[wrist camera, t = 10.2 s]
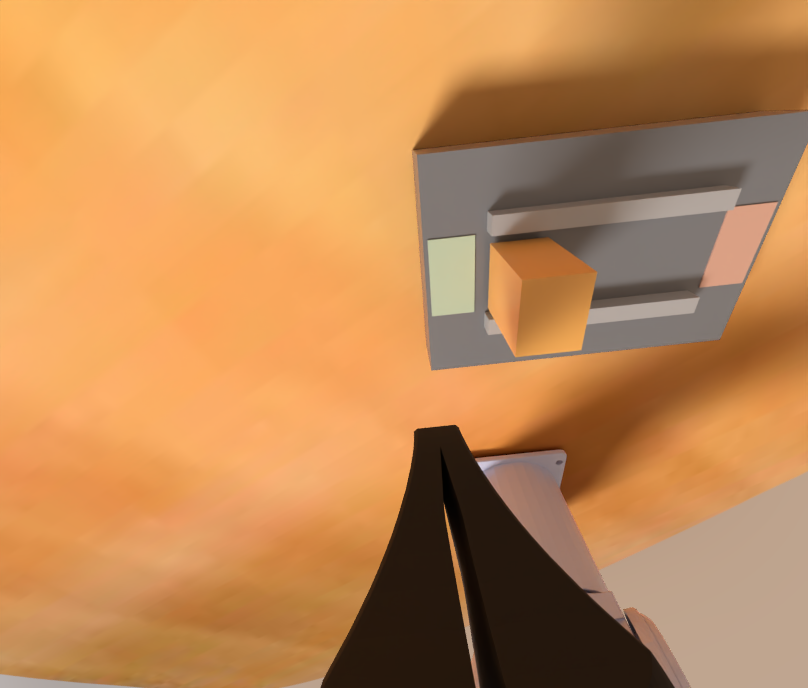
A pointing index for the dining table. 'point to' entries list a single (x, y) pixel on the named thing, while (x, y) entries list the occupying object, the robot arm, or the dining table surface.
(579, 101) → the dining table surface
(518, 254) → the handle
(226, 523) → the dining table surface
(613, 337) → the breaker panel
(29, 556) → the dining table surface
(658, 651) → the robot arm
